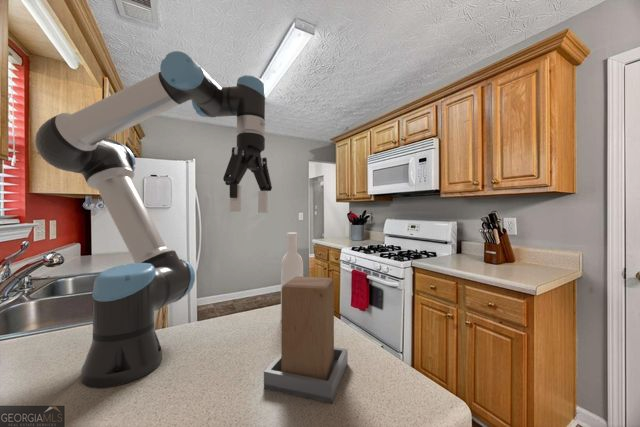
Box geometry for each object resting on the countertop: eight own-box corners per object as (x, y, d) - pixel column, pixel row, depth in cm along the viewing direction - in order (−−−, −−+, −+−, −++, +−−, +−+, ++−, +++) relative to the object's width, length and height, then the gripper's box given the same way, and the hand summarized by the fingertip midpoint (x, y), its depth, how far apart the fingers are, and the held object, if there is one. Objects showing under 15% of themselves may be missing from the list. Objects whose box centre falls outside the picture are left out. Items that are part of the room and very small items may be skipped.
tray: (263, 388, 55) (263, 371, 55) (292, 354, 69) (292, 340, 69) (331, 403, 50) (331, 385, 50) (347, 363, 64) (347, 349, 64)
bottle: (281, 324, 88) (282, 233, 88) (279, 316, 95) (279, 232, 96) (305, 322, 90) (305, 233, 91) (301, 314, 98) (301, 232, 98)
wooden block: (326, 387, 54) (326, 287, 54) (279, 381, 56) (280, 285, 56) (334, 361, 63) (334, 277, 64) (294, 356, 65) (294, 275, 66)
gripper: (235, 117, 61) (234, 210, 60) (282, 146, 84) (282, 213, 84) (208, 121, 63) (207, 211, 63) (261, 148, 87) (261, 213, 86)
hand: (250, 212), depth 73 cm, fingers open, 13 cm apart
